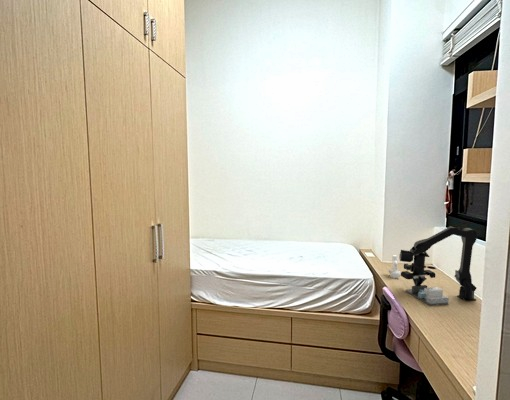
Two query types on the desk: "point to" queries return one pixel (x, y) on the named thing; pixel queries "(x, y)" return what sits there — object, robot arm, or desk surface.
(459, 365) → the desk surface
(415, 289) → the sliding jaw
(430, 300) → the vise base
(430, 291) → the steel block
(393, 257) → the figurine
